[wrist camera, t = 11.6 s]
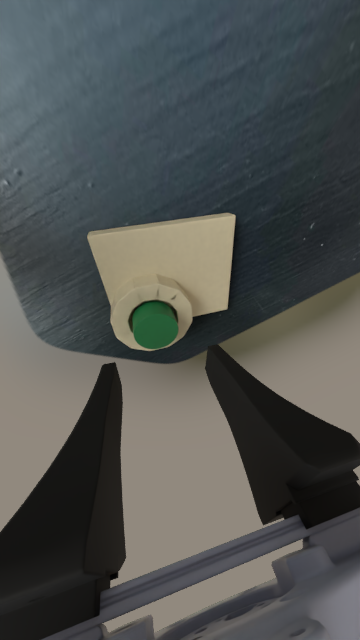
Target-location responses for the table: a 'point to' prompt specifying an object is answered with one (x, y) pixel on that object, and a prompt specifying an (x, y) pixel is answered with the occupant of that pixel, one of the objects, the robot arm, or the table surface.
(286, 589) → the robot arm
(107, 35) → the table surface
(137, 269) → the box
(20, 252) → the table surface
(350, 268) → the table surface
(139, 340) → the release button
